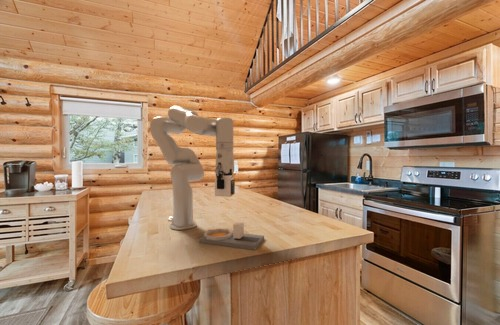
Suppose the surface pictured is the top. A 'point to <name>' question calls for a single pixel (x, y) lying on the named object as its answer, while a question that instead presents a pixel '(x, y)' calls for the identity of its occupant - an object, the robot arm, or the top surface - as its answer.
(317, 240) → the top surface
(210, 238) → the grey tray
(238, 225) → the block
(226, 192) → the medicine bottle
